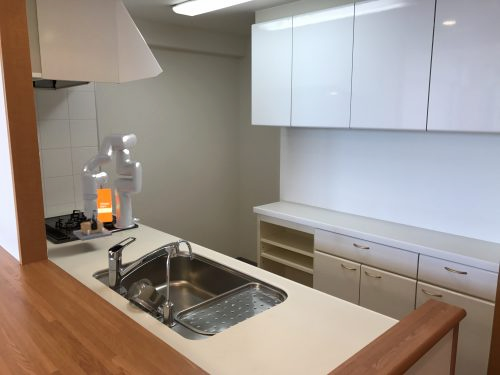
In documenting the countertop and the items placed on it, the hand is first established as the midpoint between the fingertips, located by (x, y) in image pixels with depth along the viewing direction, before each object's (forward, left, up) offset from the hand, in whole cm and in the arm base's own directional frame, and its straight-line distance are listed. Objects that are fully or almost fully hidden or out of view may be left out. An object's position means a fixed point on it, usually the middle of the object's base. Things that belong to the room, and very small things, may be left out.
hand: (92, 228), depth 225 cm
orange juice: (-17, -28, -5) cm, 33 cm away
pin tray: (0, 0, -3) cm, 3 cm away
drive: (0, 0, -2) cm, 2 cm away
